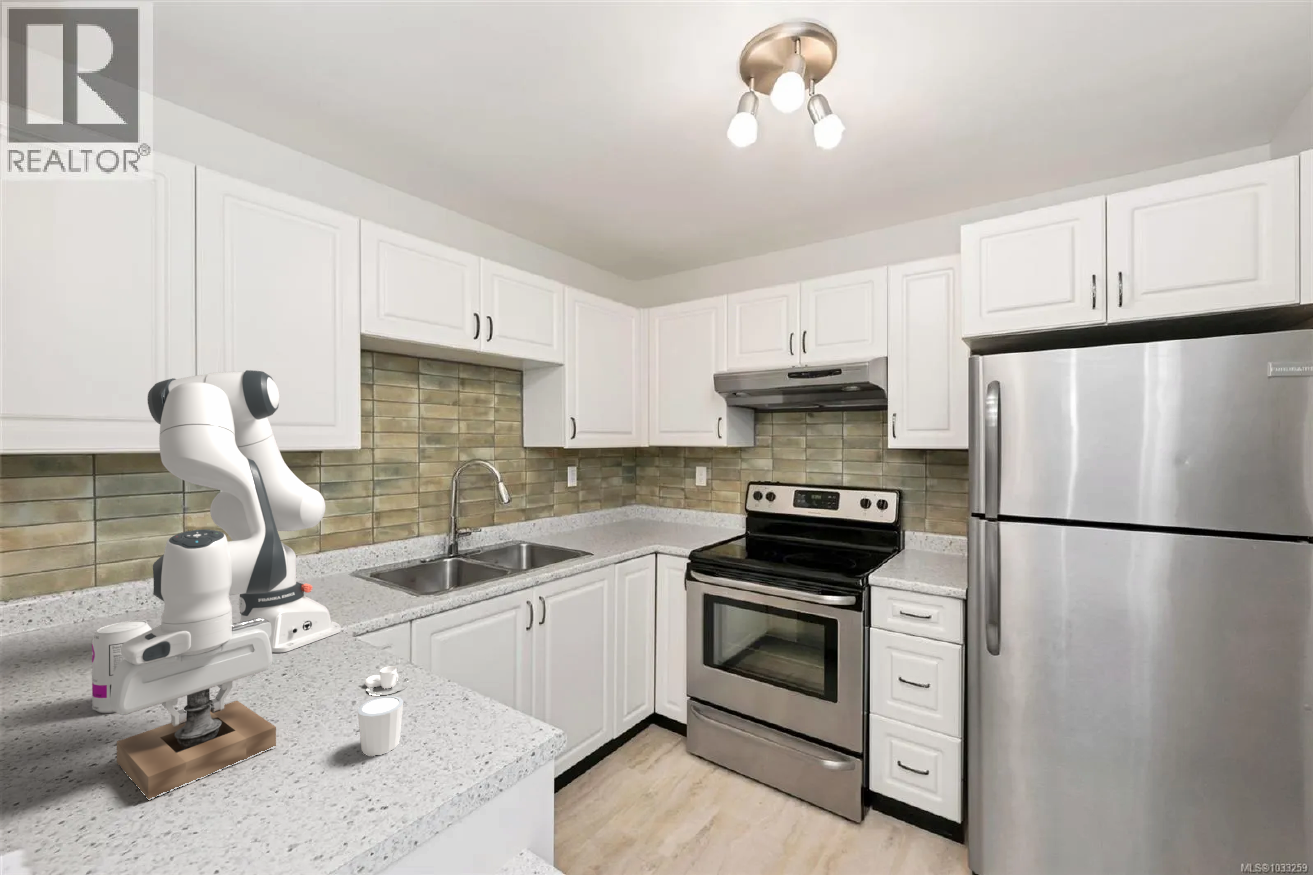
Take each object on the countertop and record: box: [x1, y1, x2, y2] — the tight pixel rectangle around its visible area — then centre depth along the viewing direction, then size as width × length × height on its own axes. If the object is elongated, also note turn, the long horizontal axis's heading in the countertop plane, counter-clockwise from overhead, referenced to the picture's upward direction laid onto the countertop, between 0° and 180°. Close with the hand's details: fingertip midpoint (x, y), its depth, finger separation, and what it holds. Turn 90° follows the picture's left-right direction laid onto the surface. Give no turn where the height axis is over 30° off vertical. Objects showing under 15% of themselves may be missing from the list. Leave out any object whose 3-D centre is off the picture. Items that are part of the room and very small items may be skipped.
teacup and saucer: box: [364, 665, 409, 697], centre depth 113 cm, size 9×8×4 cm
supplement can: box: [91, 619, 153, 714], centre depth 106 cm, size 8×8×15 cm
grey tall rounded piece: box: [175, 688, 222, 751], centre depth 89 cm, size 6×6×12 cm
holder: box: [116, 700, 277, 799], centre depth 89 cm, size 16×16×4 cm
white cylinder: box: [357, 695, 404, 755], centre depth 92 cm, size 7×7×7 cm
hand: (198, 717), depth 89 cm, fingers closed on grey tall rounded piece, 4 cm apart
